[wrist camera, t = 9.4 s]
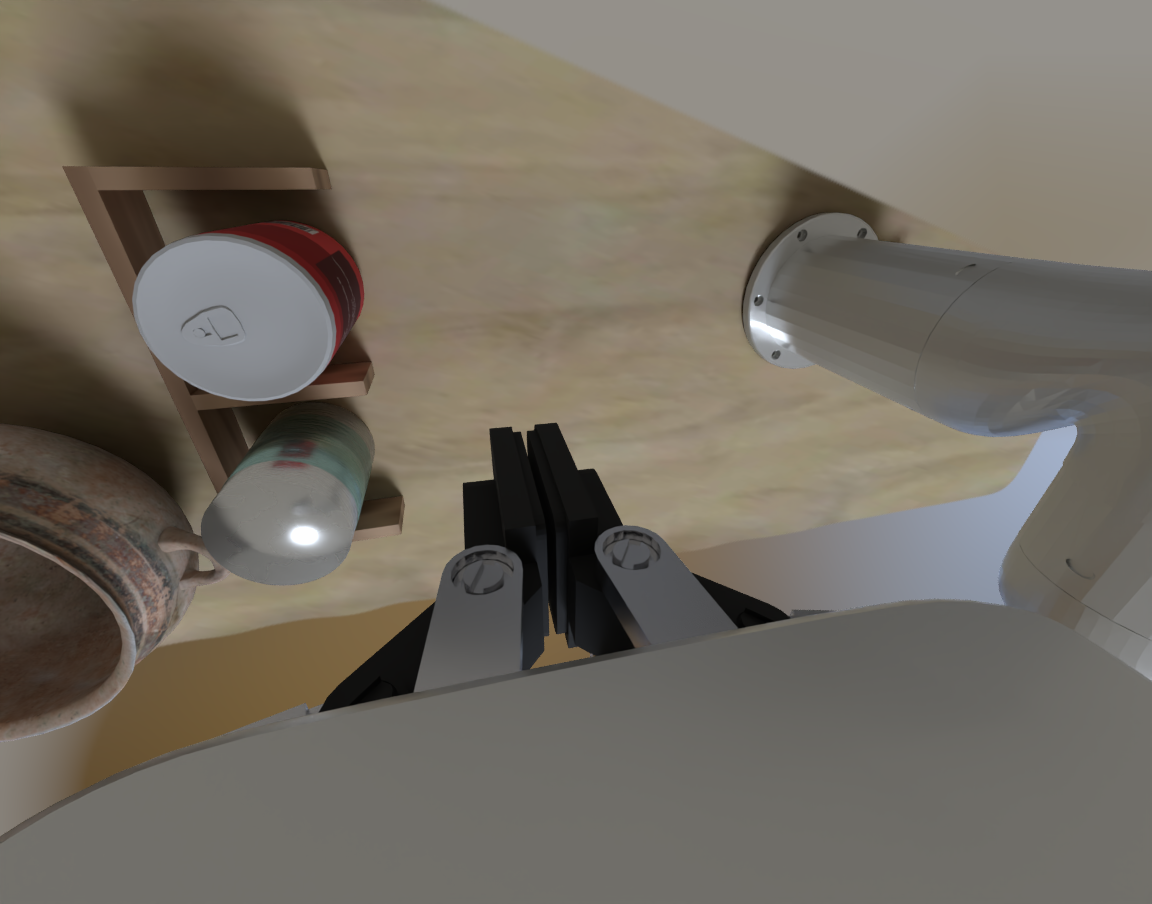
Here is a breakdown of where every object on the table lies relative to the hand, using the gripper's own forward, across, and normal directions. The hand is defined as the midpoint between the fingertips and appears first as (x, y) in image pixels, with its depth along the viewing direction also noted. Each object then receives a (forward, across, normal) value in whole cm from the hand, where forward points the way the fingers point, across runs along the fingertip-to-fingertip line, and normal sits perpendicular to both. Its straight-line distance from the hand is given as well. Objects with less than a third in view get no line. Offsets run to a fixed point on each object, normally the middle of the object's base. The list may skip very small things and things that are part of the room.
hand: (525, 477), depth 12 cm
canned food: (+26, +12, -1) cm, 28 cm away
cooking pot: (+25, +30, +14) cm, 42 cm away
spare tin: (+25, +13, +11) cm, 31 cm away
